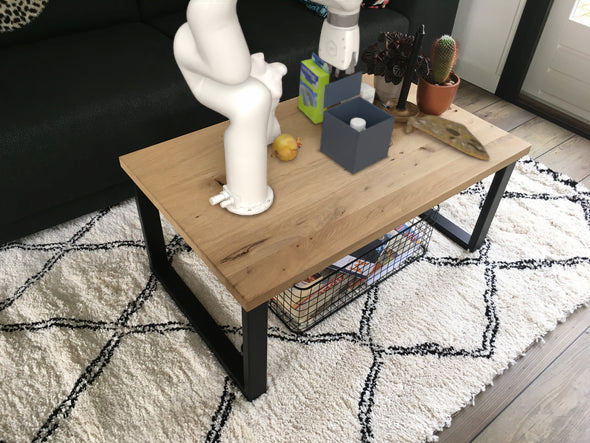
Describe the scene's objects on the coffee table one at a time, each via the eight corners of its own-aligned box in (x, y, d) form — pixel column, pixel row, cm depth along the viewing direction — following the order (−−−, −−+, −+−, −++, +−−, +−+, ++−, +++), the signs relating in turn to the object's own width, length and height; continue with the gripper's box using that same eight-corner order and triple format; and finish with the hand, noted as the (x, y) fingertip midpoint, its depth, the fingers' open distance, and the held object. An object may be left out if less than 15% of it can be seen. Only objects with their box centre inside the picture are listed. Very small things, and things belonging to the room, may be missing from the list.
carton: (353, 174, 130) (359, 133, 122) (320, 150, 137) (323, 110, 129) (387, 156, 137) (395, 116, 128) (353, 135, 144) (359, 96, 135)
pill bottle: (347, 159, 134) (351, 128, 127) (340, 148, 138) (344, 117, 131) (366, 157, 135) (371, 126, 129) (359, 145, 139) (364, 115, 132)
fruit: (278, 152, 126) (310, 140, 130) (264, 134, 129) (295, 123, 133) (274, 170, 132) (305, 158, 136) (261, 152, 134) (291, 140, 139)
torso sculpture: (240, 159, 133) (236, 71, 116) (222, 141, 139) (216, 55, 122) (296, 139, 141) (300, 54, 124) (276, 123, 147) (278, 40, 130)
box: (297, 108, 154) (300, 54, 142) (309, 105, 155) (312, 51, 143) (314, 125, 147) (319, 69, 135) (326, 121, 148) (332, 66, 137)
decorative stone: (401, 132, 145) (407, 117, 142) (423, 118, 155) (430, 104, 152) (478, 175, 136) (487, 159, 133) (497, 157, 146) (505, 142, 143)
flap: (325, 85, 124) (324, 85, 124) (324, 108, 128) (323, 108, 129) (362, 71, 130) (361, 71, 131) (360, 94, 135) (359, 93, 135)
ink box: (370, 124, 148) (376, 88, 140) (358, 129, 146) (363, 93, 138) (350, 112, 153) (354, 76, 145) (338, 117, 151) (342, 80, 142)
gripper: (310, 10, 121) (306, 80, 134) (353, 31, 113) (345, 104, 126) (332, 4, 125) (326, 73, 137) (376, 24, 117) (365, 95, 129)
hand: (335, 87), depth 132 cm, fingers closed
